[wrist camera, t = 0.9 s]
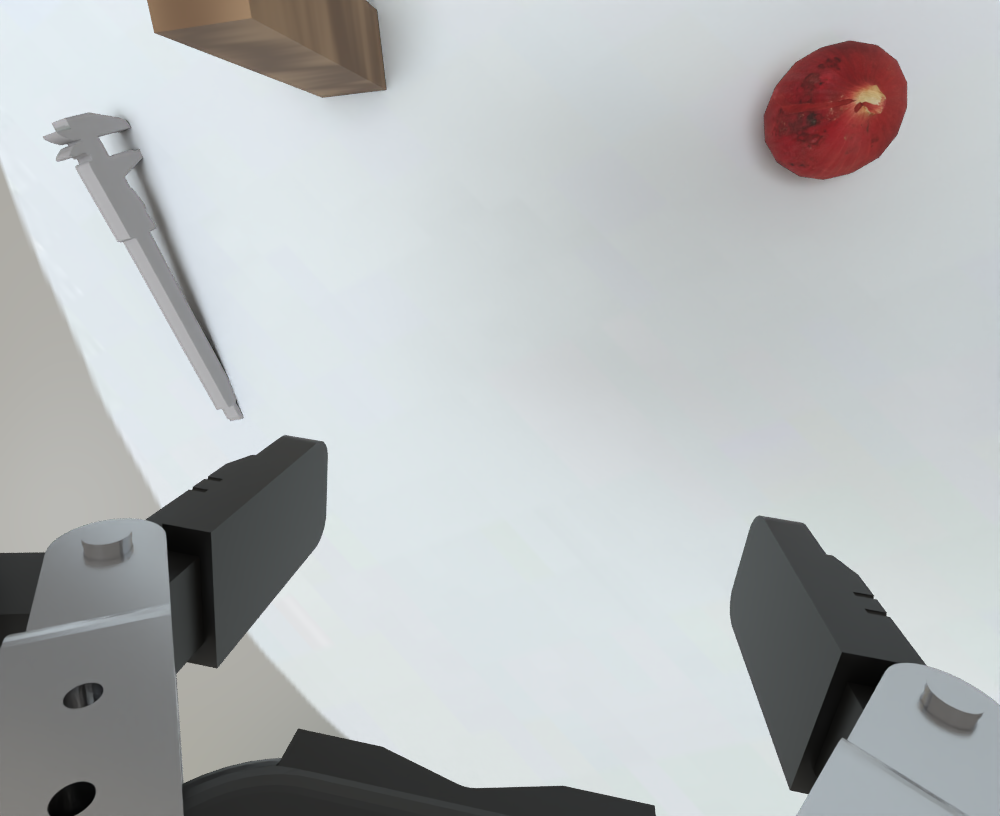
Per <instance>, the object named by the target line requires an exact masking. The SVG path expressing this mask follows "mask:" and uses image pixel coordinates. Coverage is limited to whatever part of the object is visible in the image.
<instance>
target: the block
mask: <svg viewBox="0 0 1000 816" xmlns="http://www.w3.org/2000/svg"><path fill="white" fill-rule="evenodd" d="M147 2H148V6H149V11H150V15H151V20H152V24H153V29H154V33H156V34H159V35H161V36H164V37H166V38H169V39H172V40H174V41H177V42H179V43H182V44H185V45H187V46H190V47H192V48H195V49H198V50H200V51H203V52H205V53H208V54H211V55H213V56H216V57H218V58H221V59H224V60H226V61H229V62H231V63H234V64H237V65H239V66H242V67H244V68H247V69H250V70H252V71H255V72H257V73H260V74H262V75H265V76H268V77H270V78H273V79H275V80H278V81H281V82H283V83H286V84H288V85H291V86H294V87H296V88H299V89H301V90H304V91H307V92H309V93H312V94H314V95H317V96H320V97H322V98H323V97H331V96H339V95H348V94H356V93H364V92H372V91H380V90H386V83H385V74H384V66H383V57H382V49H381V41H380V32H379V24H378V15H377V10H376V9H375V8H374V7H373V6H371V5H370V4H369V3H368V2H367V1H366V0H147Z"/></svg>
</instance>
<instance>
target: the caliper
mask: <svg viewBox="0 0 1000 816" xmlns="http://www.w3.org/2000/svg"><path fill="white" fill-rule="evenodd" d="M52 125H53V127H54V129H55V130H56V132H54V133H51V134H49V135H46V136H43V138H44V139H45V140H47V141H49V142H51V143H54V144H58V145H64V144H68V147H65V148H63V149H61V150H60V152H59V153H58V155H57V157H56V161H57V162H58V161H63V160H66V159H69V158H73V159H74V160H75V159H77V160H78V162H79V165H77V166H76V170H77V172H78V174H79V175H80V177H81V179H82V181H83V182H84V184H85V186H86V188H87V189H88V191H89V193H90V195H91V196H92V198H93V200H94V202H95V203H96V205H97V207H98V209H99V210H100V212H101V214H102V216H103V217H104V219H105V221H106V222H107V224H108V226H109V228H110V229H111V231H112V233H113V235H114V236H115V238H116V240H117V242H123V243H124V244H125V246H126V248H127V250H128V252H129V253H130V255H131V257H132V259H133V260H134V262H135V264H136V266H137V268H138V269H139V271H140V273H141V275H142V277H143V278H144V280H145V282H146V284H147V286H148V287H149V289H150V291H151V293H152V295H153V296H154V298H155V300H156V302H157V304H158V305H159V307H160V309H161V311H162V313H163V314H164V316H165V318H166V320H167V322H168V323H169V325H170V327H171V329H172V331H173V332H174V334H175V336H176V338H177V340H178V341H179V343H180V345H181V347H182V349H183V350H184V352H185V354H186V356H187V357H188V359H189V361H190V363H191V365H192V366H193V368H194V370H195V372H196V374H197V375H198V377H199V379H200V381H201V382H202V384H203V386H204V388H205V390H206V391H207V393H208V395H209V397H210V398H211V400H212V402H213V404H214V406H215V407H216V409H217V410H218V409H222V410H223V412H224V414H225V415H226V417H227V419H229V420H230V421H233V420H237V419H242V418H243V415H242V413H241V411H240V409H239V407H238V405H237V404H236V401H237V399H236V397H235V394H234V391H233V389H232V386H231V384H230V381H229V379H228V377H227V375H226V373H225V371H224V369H223V368H222V366H221V364H220V362H219V360H218V358H217V357H216V355H215V353H214V351H213V349H212V347H211V345H210V344H209V342H208V340H207V338H206V336H205V334H204V332H203V331H202V329H201V327H200V325H199V323H198V321H197V319H196V318H195V316H194V314H193V312H192V310H191V308H190V306H189V304H188V303H187V301H186V299H185V297H184V295H183V293H182V291H181V289H180V288H179V286H178V284H177V282H176V280H175V278H174V276H173V274H172V272H171V271H170V269H169V267H168V265H167V263H166V261H165V259H164V257H163V256H162V254H161V252H160V250H159V248H158V246H157V244H156V242H155V240H154V239H153V237H152V235H151V233H150V231H152V230H153V229H155V228H156V225H155V223H154V221H153V220H152V219H151V217H150V216H149V215H148V213H147V211H146V207H145V205H144V203H143V201H142V200H141V199H140V197H139V196H138V195H137V194H136V192H135V191H134V190H133V189H132V188H130V186H129V184H128V182H127V180H126V178H125V176H126V175H127V174H128V173H129V172H130V171H131V169H132V168H133V167H134V166H135V165H136V164H137V163H138V162H139V161H140V160H141V159H142V158H143V156H142V154H141V151H140V149H138V150H135V151H134V150H129V151H125V152H121V153H118V154H115V155H112V156H109V155H108V153H107V151H106V149H105V148H104V146H103V144H102V142H101V141H100V139H99V137H100V136H103V135H107V134H111V133H117V132H120V131H123V130H126V129H129V128H131V127H130V125H129V124H128V122H126V121H125V120H124V119H121V118H117V117H112V116H106V115H100V114H94V113H85V114H80V115H76V116H72V117H68V118H64V119H61V120H59V121H56V122H53V123H52Z"/></svg>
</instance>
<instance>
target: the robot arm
mask: <svg viewBox="0 0 1000 816" xmlns="http://www.w3.org/2000/svg"><path fill="white" fill-rule="evenodd" d="M327 463H328V453H327V447H326V444H325V443H324V442H323V441H317V440H311V439H305V438H299V437H293V436H287V435H284V436H282V437H280V438H279V439H278V440H276V441H275V442H273V443H272V444H271V445H269V446H268V447H267V448H265V449H264V450H262V451H261V452H260V453H258V454H257V455H250V456H247V457H245V458H242V459H239V460H236V461H233V462H230V463H227V464H225V465H224V466H223V467H221V468H220V469H218V470H217V471H215V472H214V473H212V474H211V475H210V476H208V479H204V480H202V481H201V482H199V483H198V484H196V485H195V486H194V487H193V489H192V490H188V491H186V492H185V493H183V494H182V495H181V496H179V497H178V498H176V499H175V500H173V501H172V502H170V503H169V504H168V505H166V506H165V507H163V508H162V509H160V510H159V511H157V512H156V513H155V514H153V515H152V516H150V517H149V518H147V519H146V520H142V519H132V518H123V519H110V520H104V521H99V522H94V523H91V524H87V525H84V526H81V527H78V528H76V529H73V530H71V531H69V532H67V533H65V534H64V535H62V536H60V537H59V538H57V539H56V540H55V541H53V542H52V543H51V544H50V546H49V547H48V548H47V550H46V552H45V553H0V816H656V814H655V806H654V805H650V804H645V803H640V802H636V801H631V800H626V799H622V798H617V797H612V796H608V795H603V794H599V793H594V792H589V791H585V790H580V789H575V788H571V787H566V786H540V787H504V788H468V787H464V786H461V785H459V784H456V783H454V782H452V781H450V780H448V779H446V778H444V777H442V776H440V775H438V774H436V773H434V772H432V771H430V770H428V769H426V768H424V767H422V766H420V765H418V764H416V763H414V762H412V761H410V760H408V759H406V758H404V757H402V756H400V755H398V754H396V753H394V752H392V751H390V750H388V749H386V748H384V747H381V746H376V745H372V744H367V743H362V742H358V741H353V740H348V739H344V738H339V737H335V736H330V735H325V734H321V733H316V732H311V731H307V730H302V729H298V730H297V732H296V733H295V735H294V737H293V739H292V741H291V742H290V744H289V746H288V748H287V750H286V752H285V753H284V755H283V757H282V758H276V759H265V760H257V761H250V762H245V763H241V764H237V765H233V766H229V767H225V768H222V769H219V770H216V771H213V772H210V773H207V774H204V775H202V776H199V777H197V778H195V779H193V780H190V781H188V782H186V783H183V767H182V753H181V738H180V724H179V707H178V693H177V680H176V679H177V678H176V674H177V673H178V671H179V670H180V669H181V668H182V667H183V665H185V663H186V662H189V663H194V664H199V665H203V666H208V667H213V668H218V667H219V665H220V664H221V663H222V662H223V661H224V659H225V658H226V657H227V656H228V654H229V653H230V652H231V651H232V650H233V648H234V647H235V646H236V645H237V643H238V642H239V641H240V639H241V638H242V637H243V636H244V635H245V634H246V632H247V631H248V630H249V629H250V627H251V626H252V625H253V624H254V623H255V621H256V620H257V619H258V618H259V616H260V615H261V614H262V613H263V611H264V610H265V609H266V608H267V607H268V605H269V604H270V603H271V602H272V600H273V599H274V598H275V597H276V596H277V594H278V593H279V592H280V591H281V589H282V588H283V587H284V586H285V584H286V583H287V582H288V581H289V580H290V578H291V577H292V576H293V575H294V573H295V572H296V571H297V570H298V569H299V567H300V566H301V565H302V564H303V562H304V561H305V560H306V559H307V558H308V556H309V555H310V554H311V553H312V551H313V550H314V549H315V548H316V546H317V545H318V543H319V541H320V539H321V536H322V533H323V530H324V526H325V520H326V501H327ZM873 596H874V595H873V594H872V592H871V591H870V590H869V589H868V587H867V586H866V585H865V583H864V582H863V581H862V579H861V578H860V577H859V575H858V574H856V573H855V572H854V571H852V570H851V569H850V568H848V567H847V566H846V565H844V564H843V563H842V562H841V561H839V560H838V559H837V558H835V557H834V556H832V555H826V553H825V552H824V550H823V549H822V548H821V546H820V545H819V543H818V542H817V541H816V539H815V538H814V536H813V535H812V533H811V532H810V531H809V529H808V528H807V526H806V525H805V524H803V523H800V522H794V521H788V520H782V519H776V518H770V517H764V516H757V517H756V518H755V519H754V521H753V522H752V524H751V527H750V530H749V533H748V537H747V540H746V544H745V547H744V550H743V554H742V557H741V561H740V564H739V568H738V571H737V575H736V578H735V582H734V585H733V589H732V593H731V600H730V618H731V624H732V627H733V630H734V633H735V636H736V639H737V642H738V644H739V647H740V650H741V653H742V656H743V659H744V661H745V664H746V667H747V670H748V673H749V676H750V678H751V681H752V684H753V687H754V690H755V693H756V695H757V698H758V701H759V704H760V707H761V710H762V712H763V715H764V718H765V721H766V724H767V727H768V729H769V732H770V735H771V738H772V741H773V744H774V746H775V749H776V752H777V755H778V758H779V761H780V763H781V766H782V769H783V772H784V775H785V778H786V780H787V783H788V786H789V789H790V790H791V791H796V792H800V793H805V794H808V796H807V798H806V800H805V801H804V803H803V805H802V807H801V808H800V810H799V812H798V814H797V815H796V816H1000V705H999V704H998V703H997V702H995V701H994V700H993V699H992V698H990V697H989V696H988V695H986V694H985V693H984V692H982V691H981V690H979V689H977V688H976V687H974V686H973V685H971V684H969V683H967V682H965V681H964V680H962V679H960V678H958V677H956V676H953V675H951V674H949V673H947V672H944V671H941V670H939V669H936V668H932V667H929V666H927V665H926V664H925V663H924V662H923V660H922V659H921V658H920V656H919V655H918V654H917V652H916V651H915V650H914V648H913V647H912V646H911V644H910V643H909V642H908V640H907V639H906V638H905V636H904V635H903V634H902V632H901V631H900V630H899V628H898V627H897V626H896V624H895V623H894V622H893V620H892V619H891V618H890V617H887V616H886V613H887V612H886V611H885V610H884V608H883V607H882V606H881V604H880V603H879V602H878V600H877V599H873Z"/></svg>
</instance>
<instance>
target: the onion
mask: <svg viewBox="0 0 1000 816" xmlns="http://www.w3.org/2000/svg"><path fill="white" fill-rule="evenodd" d="M906 109H907V81H906V79H905V77H904V75H903V73H902V70H901V68H900V66H899V64H898V62H897V60H895V59H894V58H893V57H892V56H890V55H889V54H888V53H887V52H885V51H884V50H883V49H882V48H880V47H879V46H877V45H873V44H867V43H861V42H855V41H846V42H842V43H838V44H833V45H829V46H825V47H822V48H820V49H818V50H816V51H814V52H812V53H811V54H809V55H807V56H806V57H804V58H802V59H801V60H799V61H797V62H796V63H795V64H794V65H793V66H792V67H791V69H790V70H789V71H788V72H787V73H786V75H785V76H784V77H783V78H782V79H781V81H780V82H779V83H778V84H777V85H776V87H775V89H774V91H773V94H772V96H771V99H770V101H769V104H768V106H767V109H766V111H765V114H764V130H765V142H766V144H767V146H768V147H769V149H770V151H771V153H772V154H773V156H774V158H775V160H776V161H777V162H778V163H779V164H780V165H782V166H784V167H785V168H787V169H788V170H790V171H792V172H793V173H795V174H796V175H798V176H801V177H808V178H815V179H822V180H824V179H828V178H833V177H837V176H842V175H846V174H850V173H852V172H855V171H856V170H858V169H860V168H861V167H863V166H865V165H867V164H868V163H870V162H872V161H874V160H875V159H877V158H879V157H880V156H881V154H882V153H883V152H884V151H885V149H886V148H887V147H888V146H889V144H890V143H891V142H892V141H893V139H894V138H895V137H896V136H897V134H898V131H899V128H900V125H901V123H902V120H903V117H904V114H905V112H906Z"/></svg>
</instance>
